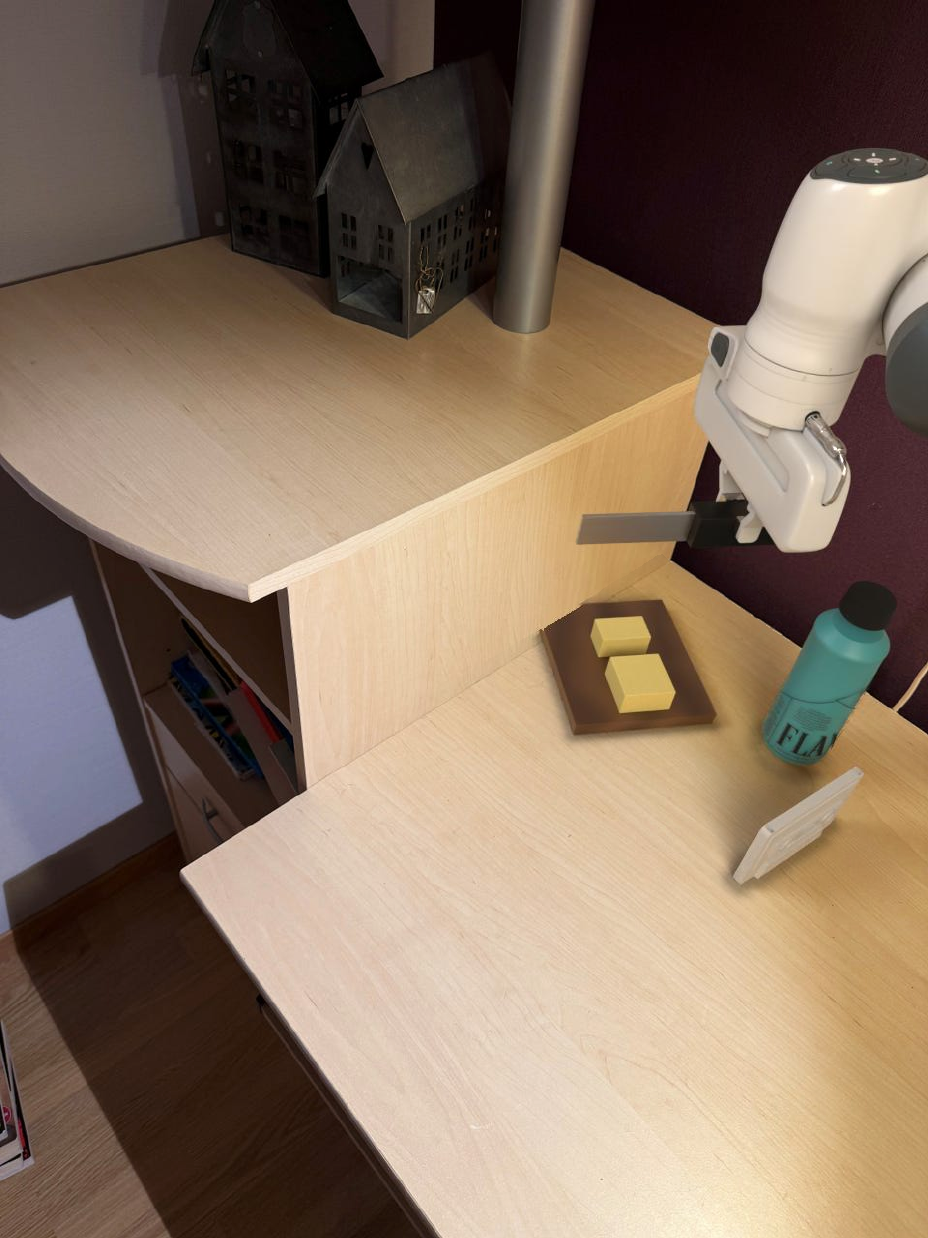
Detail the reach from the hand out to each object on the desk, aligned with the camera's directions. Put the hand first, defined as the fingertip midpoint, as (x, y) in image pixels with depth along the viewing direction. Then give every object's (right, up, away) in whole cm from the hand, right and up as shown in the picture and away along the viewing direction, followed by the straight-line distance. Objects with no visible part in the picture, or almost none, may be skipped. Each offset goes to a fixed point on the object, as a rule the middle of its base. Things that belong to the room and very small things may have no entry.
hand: (734, 523), depth 79 cm
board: (-8, -13, +13) cm, 20 cm away
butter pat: (-8, -11, +13) cm, 19 cm away
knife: (-4, -1, 0) cm, 4 cm away
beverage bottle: (+7, -21, +7) cm, 23 cm away
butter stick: (-7, -15, +9) cm, 19 cm away
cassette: (+4, -28, -1) cm, 29 cm away
